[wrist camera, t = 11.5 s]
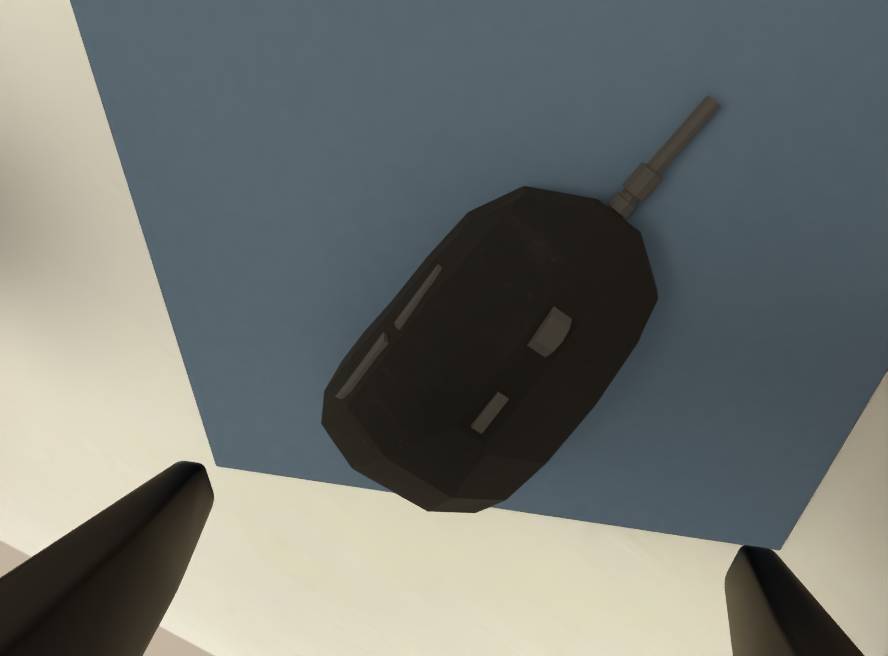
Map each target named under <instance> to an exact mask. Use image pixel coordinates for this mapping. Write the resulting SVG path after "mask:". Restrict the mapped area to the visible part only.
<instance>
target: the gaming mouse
mask: <svg viewBox="0 0 888 656" xmlns="http://www.w3.org/2000/svg"><path fill="white" fill-rule="evenodd" d="M720 107H721V106H720V105H719V104H718V103H717V102H716V101H715V100H713V99H712V98H711V97H709V96H706V97H705V98H704V99H703V101H702V102H701V103H700V104H699V105H698V106H697V107H696V109H695V110H694V111H693V112H692V113H691V114H690V115H689V117H688V118H687V119H686V120H685V121H684V122H683V123H682V125H681V126H680V127H679V128H678V129H677V130H676V132H675V133H674V134H673V135H672V136H671V137H670V138H669V140H668V141H667V142H666V143H665V144H664V145H663V146H662V148H661V149H660V150H659V151H658V152H657V153H656V154H655V156H654V157H653V158H652V159H651V160H650V161H649V162H648V164H645V163H642V162H641V163H640V165H639V166H638V167H637V168H636V169H635V170H634V172H633V173H632V174H631V175H630V176H629V177H628V178H627V180H626V181H625V182H624V183H623V184H622V186H623V187H624V189H623V190H622V192H621V193H619V192H617V193H616V194H615V195H614V196H613V198H612V199H611V200H610V201H609V202H608V204H609V205H610V206H609V207H607V206H606V205H604V204H603V203H602V202H600V201H599V200H598V199H595V198H590V197H584V196H579V195H573V194H567V193H562V192H556V191H550V190H545V189H539V188H533V187H528V186H522V187H520V188H518V189H516V190H514V191H512V192H510V193H507V194H505V195H503V196H501V197H499V198H497V199H495V200H493V201H490V202H488V203H486V204H484V205H482V206H480V207H478V208H475V209H473V210H471V211H469V212H468V213H467V214H466V215H465V216H464V217H463V218H462V219H461V220H460V221H459V222H458V223H457V225H456V226H455V227H454V228H453V229H452V230H451V231H450V232H449V233H448V234H447V236H446V237H445V238H444V239H443V240H442V241H441V242H440V243H439V244H438V245H437V246H436V248H435V249H434V250H433V251H432V252H431V253H430V254H429V255H428V256H427V257H426V259H425V260H424V261H423V262H422V264H421V265H420V266H419V267H418V269H417V270H416V271H415V272H414V274H413V275H412V276H411V277H410V279H409V280H408V281H407V282H406V284H405V285H404V286H403V287H402V289H401V290H400V291H399V292H398V294H397V295H396V296H395V297H394V299H393V300H392V301H391V302H390V303H389V304H388V306H387V307H386V308H385V309H384V310H383V311H382V312H381V313H380V315H379V316H378V317H377V318H376V319H375V320H374V321H373V322H372V323H371V325H370V326H369V327H368V328H367V329H366V330H365V331H364V332H363V334H362V335H361V336H360V338H359V339H358V340H357V342H356V343H355V344H354V346H353V347H352V348H351V350H350V351H349V352H348V353H347V355H346V356H345V357H344V359H343V360H342V361H341V363H340V365H339V367H338V368H337V370H336V372H335V373H334V375H333V377H332V378H331V380H330V382H329V383H328V385H327V387H326V389H325V390H324V398H323V408H322V419H321V424H322V426H323V427H324V429H325V430H326V432H327V434H328V435H329V437H330V438H331V440H332V441H333V442H334V444H335V445H336V447H337V448H338V449H339V451H340V452H341V454H342V455H343V456H344V458H345V459H346V461H347V462H348V464H349V465H350V466H351V468H352V469H353V470H355V471H357V472H359V473H360V474H362V475H364V476H366V477H368V478H369V479H371V480H373V481H375V482H376V483H378V484H380V485H382V486H384V487H385V488H387V489H389V490H391V491H392V492H394V493H396V494H398V495H400V496H401V497H403V498H405V499H407V500H408V501H410V502H412V503H414V504H415V505H417V506H419V507H421V508H423V509H424V510H426V511H434V512H462V513H476V512H479V511H481V510H484V509H486V508H489V507H491V506H493V505H496V504H498V503H501V502H503V501H505V500H507V499H508V498H509V497H510V496H511V495H512V494H513V493H514V492H516V491H517V490H518V489H519V488H520V487H521V486H522V485H523V484H524V483H525V482H527V481H528V480H529V479H530V478H531V477H532V476H533V475H534V474H535V473H536V472H538V471H539V470H540V469H541V468H542V467H543V466H544V465H545V464H546V463H547V462H548V461H549V460H550V459H551V457H552V456H553V455H554V454H555V453H556V451H557V450H558V449H559V448H560V447H561V446H562V444H563V443H564V442H565V441H566V440H567V438H568V437H569V436H570V435H571V434H572V433H573V431H574V430H575V429H576V428H577V427H578V425H579V424H580V423H581V422H582V421H583V420H584V418H585V417H586V416H587V415H588V414H589V412H590V411H591V410H592V409H593V408H594V407H595V405H596V404H597V403H598V401H599V400H600V398H601V397H602V395H603V394H604V392H605V391H606V389H607V388H608V386H609V385H610V383H611V382H612V380H613V379H614V377H615V376H616V375H617V373H618V372H619V370H620V369H621V367H622V366H623V364H624V363H625V361H626V360H627V358H628V357H629V355H630V354H631V352H632V351H633V349H634V348H635V346H636V345H637V344H638V342H639V340H640V337H641V335H642V332H643V330H644V328H645V326H646V324H647V321H648V319H649V317H650V315H651V313H652V311H653V309H654V307H655V305H656V303H657V300H658V290H657V287H656V283H655V280H654V276H653V273H652V269H651V266H650V262H649V259H648V255H647V252H646V248H645V245H644V241H643V238H642V234H641V232H640V231H639V230H638V229H636V228H635V227H634V226H632V225H631V224H630V223H628V222H627V221H626V220H624V219H623V217H625V218H627V217H628V216H629V215H630V214H631V212H632V211H633V210H634V209H635V208H636V206H635V204H636V203H637V202H638V200H640V201H644V200H645V199H646V198H647V196H648V195H649V194H650V193H651V192H652V191H653V190H654V189H655V188H656V186H657V185H658V184H659V183H660V182H661V181H662V180H663V178H662V177H661V176H660V174H661V173H662V172H663V171H664V170H665V169H666V167H667V166H668V165H669V164H670V163H671V162H672V161H673V160H674V158H675V157H676V156H677V155H678V154H679V153H680V152H681V151H682V150H683V148H684V147H685V146H686V145H687V144H688V143H689V142H690V141H691V139H692V138H693V137H694V136H695V135H696V134H697V133H698V132H699V130H700V129H701V128H702V127H703V126H704V125H705V124H706V123H707V122H708V120H709V119H710V118H711V117H712V116H713V115H714V114H715V113H716V111H717V110H718V109H719V108H720Z"/></svg>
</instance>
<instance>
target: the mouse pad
mask: <svg viewBox="0 0 888 656" xmlns="http://www.w3.org/2000/svg"><path fill="white" fill-rule="evenodd" d="M70 2H71V5H72V8H73V12H74V15H75V18H76V21H77V24H78V27H79V31H80V34H81V37H82V40H83V43H84V47H85V50H86V53H87V56H88V59H89V62H90V66H91V69H92V72H93V75H94V78H95V82H96V85H97V88H98V91H99V94H100V97H101V101H102V104H103V107H104V110H105V113H106V117H107V120H108V123H109V126H110V129H111V132H112V136H113V139H114V142H115V145H116V148H117V152H118V155H119V158H120V161H121V164H122V167H123V171H124V174H125V177H126V180H127V183H128V187H129V190H130V193H131V196H132V199H133V202H134V206H135V209H136V212H137V215H138V218H139V222H140V225H141V228H142V231H143V234H144V237H145V241H146V244H147V247H148V250H149V253H150V257H151V260H152V263H153V266H154V269H155V272H156V276H157V279H158V282H159V285H160V288H161V292H162V295H163V298H164V301H165V304H166V307H167V311H168V314H169V317H170V320H171V323H172V326H173V330H174V333H175V336H176V339H177V342H178V346H179V349H180V352H181V355H182V358H183V361H184V365H185V368H186V371H187V374H188V377H189V381H190V384H191V387H192V390H193V393H194V396H195V400H196V403H197V406H198V409H199V412H200V416H201V419H202V422H203V425H204V428H205V431H206V435H207V438H208V441H209V444H210V447H211V451H212V454H213V457H214V460H215V463H216V466H220V467H226V468H233V469H240V470H246V471H253V472H260V473H266V474H273V475H280V476H286V477H293V478H300V479H306V480H313V481H320V482H326V483H333V484H340V485H346V486H353V487H360V488H366V489H373V490H380V491H386V492H392V491H391V490H389V489H387V488H385V487H384V486H382V485H380V484H378V483H376V482H375V481H373V480H371V479H369V478H368V477H366V476H364V475H362V474H360V473H359V472H357V471H355V470H353V469H352V468H351V466H350V465H349V464H348V462H347V461H346V459H345V458H344V456H343V455H342V454H341V452H340V451H339V449H338V448H337V447H336V445H335V444H334V442H333V441H332V440H331V438H330V437H329V435H328V434H327V432H326V430H325V429H324V427H323V426H322V424H321V419H322V408H323V398H324V390H325V389H326V387H327V385H328V383H329V382H330V380H331V378H332V377H333V375H334V373H335V372H336V370H337V368H338V367H339V365H340V363H341V361H342V360H343V359H344V357H345V356H346V355H347V353H348V352H349V351H350V350H351V348H352V347H353V346H354V344H355V343H356V342H357V340H358V339H359V338H360V336H361V335H362V334H363V332H364V331H365V330H366V329H367V328H368V327H369V326H370V325H371V323H372V322H373V321H374V320H375V319H376V318H377V317H378V316H379V315H380V313H381V312H382V311H383V310H384V309H385V308H386V307H387V306H388V304H389V303H390V302H391V301H392V300H393V299H394V297H395V296H396V295H397V294H398V292H399V291H400V290H401V289H402V287H403V286H404V285H405V284H406V282H407V281H408V280H409V279H410V277H411V276H412V275H413V274H414V272H415V271H416V270H417V269H418V267H419V266H420V265H421V264H422V262H423V261H424V260H425V259H426V257H427V256H428V255H429V254H430V253H431V252H432V251H433V250H434V249H435V248H436V246H437V245H438V244H439V243H440V242H441V241H442V240H443V239H444V238H445V237H446V236H447V234H448V233H449V232H450V231H451V230H452V229H453V228H454V227H455V226H456V225H457V223H458V222H459V221H460V220H461V219H462V218H463V217H464V216H465V215H466V214H467V213H468V212H469V211H471V210H473V209H475V208H478V207H480V206H482V205H484V204H486V203H488V202H490V201H493V200H495V199H497V198H499V197H501V196H503V195H505V194H507V193H510V192H512V191H514V190H516V189H518V188H520V187H522V186H528V187H533V188H539V189H545V190H550V191H556V192H562V193H567V194H573V195H579V196H584V197H590V198H595V199H598V200H599V201H600V202H602V203H603V204H604V205H606V206H607V207H609V206H610V205H609V204H608V202H609V201H610V200H611V199H612V198H613V196H614V195H615V194H616V193H617V192H619V193H621V192H622V190H623V189H624V187H623V186H622V184H623V183H624V182H625V181H626V180H627V178H628V177H629V176H630V175H631V174H632V173H633V172H634V170H635V169H636V168H637V167H638V166H639V165H640V163H641V162H642V163H645V164H648V162H649V161H650V160H651V159H652V158H653V157H654V156H655V154H656V153H657V152H658V151H659V150H660V149H661V148H662V146H663V145H664V144H665V143H666V142H667V141H668V140H669V138H670V137H671V136H672V135H673V134H674V133H675V132H676V130H677V129H678V128H679V127H680V126H681V125H682V123H683V122H684V121H685V120H686V119H687V118H688V117H689V115H690V114H691V113H692V112H693V111H694V110H695V109H696V107H697V106H698V105H699V104H700V103H701V102H702V101H703V99H704V98H705V97H706V96H709V97H711V98H712V99H713V100H715V101H716V102H717V103H718V104H719V105H720V106H721V107H720V108H719V109H718V110H717V111H716V113H715V114H714V115H713V116H712V117H711V118H710V119H709V120H708V122H707V123H706V124H705V125H704V126H703V127H702V128H701V129H700V130H699V132H698V133H697V134H696V135H695V136H694V137H693V138H692V139H691V141H690V142H689V143H688V144H687V145H686V146H685V147H684V148H683V150H682V151H681V152H680V153H679V154H678V155H677V156H676V157H675V158H674V160H673V161H672V162H671V163H670V164H669V165H668V166H667V167H666V169H665V170H664V171H663V172H662V173H661V174H660V176H661V177H662V178H663V180H662V181H661V182H660V183H659V184H658V185H657V186H656V188H655V189H654V190H653V191H652V192H651V193H650V194H649V195H648V196H647V198H646V199H645V200H644V201H640V200H638V202H637V203H636V204H635V206H636V208H635V209H634V210H633V211H632V212H631V214H630V215H629V216H628V217H627V218H625V217H623V219H624V220H626V221H627V222H628V223H630V224H631V225H632V226H634V227H635V228H636V229H638V230H639V231H640V232H641V234H642V238H643V241H644V245H645V248H646V252H647V255H648V259H649V262H650V266H651V269H652V273H653V276H654V280H655V283H656V287H657V290H658V300H657V303H656V305H655V307H654V309H653V311H652V313H651V315H650V317H649V319H648V321H647V324H646V326H645V328H644V330H643V332H642V335H641V337H640V340H639V342H638V344H637V345H636V346H635V348H634V349H633V351H632V352H631V354H630V355H629V357H628V358H627V360H626V361H625V363H624V364H623V366H622V367H621V369H620V370H619V372H618V373H617V375H616V376H615V377H614V379H613V380H612V382H611V383H610V385H609V386H608V388H607V389H606V391H605V392H604V394H603V395H602V397H601V398H600V400H599V401H598V403H597V404H596V405H595V407H594V408H593V409H592V410H591V411H590V412H589V414H588V415H587V416H586V417H585V418H584V420H583V421H582V422H581V423H580V424H579V425H578V427H577V428H576V429H575V430H574V431H573V433H572V434H571V435H570V436H569V437H568V438H567V440H566V441H565V442H564V443H563V444H562V446H561V447H560V448H559V449H558V450H557V451H556V453H555V454H554V455H553V456H552V457H551V459H550V460H549V461H548V462H547V463H546V464H545V465H544V466H543V467H542V468H541V469H540V470H539V471H538V472H536V473H535V474H534V475H533V476H532V477H531V478H530V479H529V480H528V481H527V482H525V483H524V484H523V485H522V486H521V487H520V488H519V489H518V490H517V491H516V492H514V493H513V494H512V495H511V496H510V497H509V498H508V499H507V500H505V501H503V502H501V503H498V504H496V505H493V506H491V507H493V508H500V509H507V510H513V511H520V512H527V513H533V514H540V515H547V516H553V517H560V518H567V519H573V520H580V521H587V522H593V523H600V524H607V525H613V526H620V527H627V528H633V529H640V530H647V531H653V532H660V533H667V534H673V535H680V536H687V537H693V538H700V539H707V540H713V541H720V542H727V543H734V544H740V545H750V546H756V547H763V548H768V549H774V550H781V548H782V546H783V544H784V543H785V541H786V539H787V538H788V536H789V534H790V533H791V531H792V529H793V528H794V526H795V524H796V523H797V521H798V519H799V518H800V516H801V514H802V513H803V511H804V509H805V508H806V506H807V504H808V503H809V501H810V499H811V497H812V496H813V494H814V492H815V491H816V489H817V487H818V486H819V484H820V482H821V481H822V479H823V477H824V476H825V474H826V472H827V471H828V469H829V467H830V466H831V464H832V462H833V461H834V459H835V457H836V456H837V454H838V452H839V450H840V449H841V447H842V445H843V444H844V442H845V440H846V439H847V437H848V435H849V434H850V432H851V430H852V429H853V427H854V425H855V424H856V422H857V420H858V419H859V417H860V415H861V414H862V412H863V410H864V408H865V407H866V405H867V403H868V402H869V400H870V398H871V397H872V395H873V393H874V392H875V390H876V388H877V387H878V385H879V383H880V382H881V380H882V378H883V377H884V375H885V373H886V372H887V370H888V0H70ZM393 493H394V492H393Z"/></svg>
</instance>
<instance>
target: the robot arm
mask: <svg viewBox="0 0 888 656" xmlns="http://www.w3.org/2000/svg"><path fill="white" fill-rule="evenodd" d="M213 501H214V493H213V490H212V487H211V484H210V481H209V478H208V475H207V472H206V469H205V467H204V466H203V465H202V464H200V463H195V462H188V461H180V462H177V463H175V464H173V465H172V466H170V467H169V468H167V469H166V470H164V471H163V472H161V473H160V474H158V475H156V476H155V477H153V478H152V479H150V480H149V481H147V482H146V483H144V484H143V485H141V486H140V487H138V488H137V489H135V490H134V491H132V492H131V493H129V494H127V495H126V496H124V497H123V498H121V499H120V500H118V501H117V502H115V503H114V504H112V505H111V506H109V507H108V508H106V509H105V510H103V511H101V512H100V513H98V514H97V515H95V516H94V517H92V518H91V519H89V520H88V521H86V522H85V523H83V524H82V525H80V526H79V527H77V528H75V529H74V530H72V531H71V532H69V533H68V534H66V535H65V536H63V537H62V538H60V539H59V540H57V541H56V542H54V543H53V544H51V545H49V546H48V547H46V548H45V549H43V550H42V551H40V552H39V553H37V554H36V555H34V556H33V557H31V558H30V559H28V560H27V561H25V562H24V563H22V564H21V565H19V566H17V567H16V568H15V569H13V570H11V571H10V572H8V573H7V574H5V575H4V576H2V577H1V578H0V656H143V654H144V652H145V650H146V648H147V647H148V645H149V643H150V641H151V639H152V637H153V635H154V633H155V631H156V630H157V628H158V626H159V624H160V622H161V620H162V618H163V617H164V615H165V613H166V611H167V609H168V607H169V605H170V603H171V602H172V600H173V598H174V596H175V594H176V592H177V590H178V587H179V585H180V583H181V581H182V578H183V576H184V574H185V571H186V569H187V567H188V564H189V562H190V559H191V557H192V554H193V552H194V550H195V547H196V545H197V542H198V540H199V538H200V535H201V533H202V530H203V528H204V525H205V523H206V521H207V518H208V516H209V513H210V511H211V508H212V506H213ZM725 595H726V603H727V611H728V619H729V627H730V635H731V643H732V650H733V656H864V655H863V653H862V652H861V651H860V650H859V649H858V648H857V646H856V645H855V644H854V643H853V642H852V641H851V640H850V638H849V637H848V636H847V635H846V634H845V633H844V631H843V630H842V629H841V628H840V627H839V626H838V624H837V623H836V622H835V621H834V620H833V619H832V618H831V616H830V615H829V614H828V613H827V612H826V611H825V609H824V608H823V607H822V606H821V605H820V604H819V602H818V601H817V600H816V599H815V598H814V597H813V596H812V594H811V593H810V592H809V591H808V590H807V589H806V587H805V586H804V585H803V584H802V583H801V582H800V580H799V579H798V578H797V577H796V576H795V575H794V574H793V572H792V571H791V570H790V569H789V568H788V567H787V565H786V564H785V563H784V562H783V561H782V560H781V558H780V557H779V556H778V555H777V554H776V553H775V552H774V551H772V550H770V549H768V548H763V547H756V546H750V545H744V546H742V547H741V548H740V549H739V551H738V553H737V555H736V557H735V558H734V560H733V562H732V564H731V566H730V568H729V570H728V572H727V574H726V577H725Z"/></svg>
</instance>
